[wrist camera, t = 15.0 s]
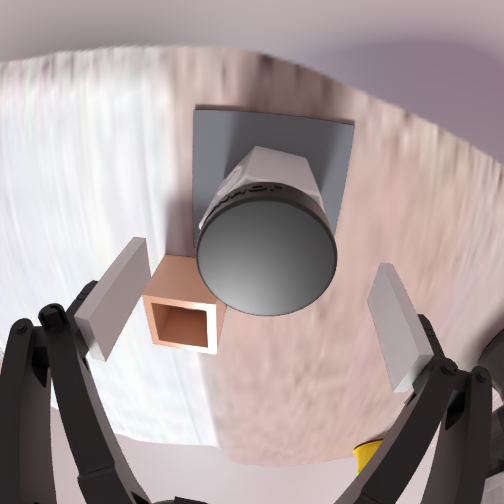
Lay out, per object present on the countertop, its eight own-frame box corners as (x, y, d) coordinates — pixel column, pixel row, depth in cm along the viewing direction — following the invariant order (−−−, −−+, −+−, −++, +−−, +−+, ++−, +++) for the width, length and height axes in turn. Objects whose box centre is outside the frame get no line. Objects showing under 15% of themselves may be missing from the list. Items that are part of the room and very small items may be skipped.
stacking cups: (398, 437, 56) (410, 555, 27) (380, 451, 61) (388, 557, 32) (362, 440, 56) (370, 566, 27) (347, 454, 62) (350, 565, 32)
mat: (353, 125, 23) (354, 125, 23) (327, 259, 31) (328, 261, 30) (194, 109, 24) (193, 110, 23) (194, 245, 31) (193, 247, 31)
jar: (271, 125, 24) (267, 156, 13) (336, 188, 26) (371, 260, 16) (206, 195, 27) (163, 268, 17) (269, 247, 30) (263, 338, 20)
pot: (227, 261, 32) (215, 304, 26) (226, 309, 35) (216, 354, 29) (164, 254, 32) (142, 294, 26) (170, 302, 36) (153, 343, 30)
